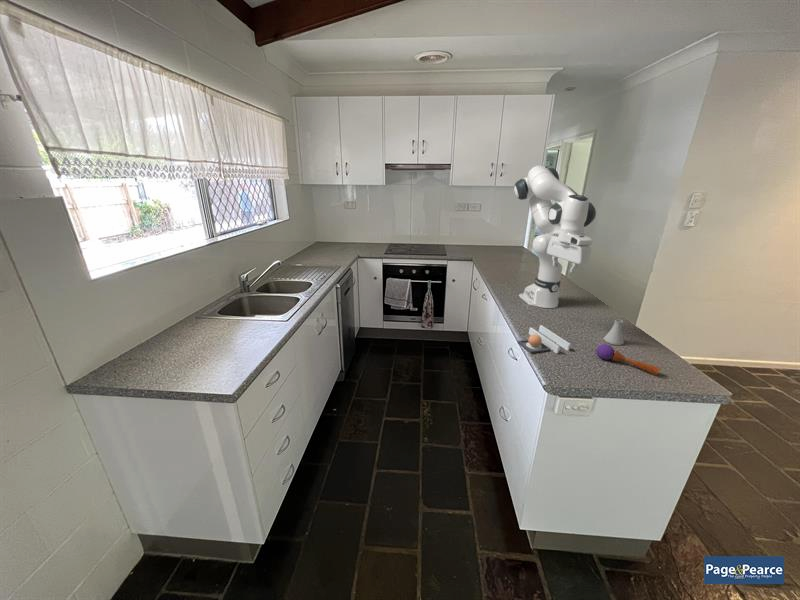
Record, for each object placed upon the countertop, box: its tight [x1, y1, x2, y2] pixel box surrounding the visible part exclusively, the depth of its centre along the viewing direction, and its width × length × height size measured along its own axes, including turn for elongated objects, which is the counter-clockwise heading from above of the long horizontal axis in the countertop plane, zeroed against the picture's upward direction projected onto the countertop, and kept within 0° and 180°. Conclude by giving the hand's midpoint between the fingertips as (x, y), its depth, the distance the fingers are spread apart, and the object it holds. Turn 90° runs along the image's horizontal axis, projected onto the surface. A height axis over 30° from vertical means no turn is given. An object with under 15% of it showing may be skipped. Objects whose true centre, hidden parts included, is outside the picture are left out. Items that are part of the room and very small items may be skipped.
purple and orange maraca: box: [595, 343, 661, 377], centre depth 121 cm, size 6×6×20 cm
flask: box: [602, 318, 625, 346], centre depth 137 cm, size 7×7×10 cm
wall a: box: [538, 324, 572, 352], centre depth 139 cm, size 18×1×3 cm, turn 15°
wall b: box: [528, 327, 561, 354], centre depth 136 cm, size 18×1×3 cm, turn 15°
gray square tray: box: [517, 339, 552, 354], centre depth 133 cm, size 9×9×1 cm
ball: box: [527, 334, 542, 347], centre depth 132 cm, size 5×5×5 cm
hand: (563, 269), depth 137 cm, fingers open, 8 cm apart
